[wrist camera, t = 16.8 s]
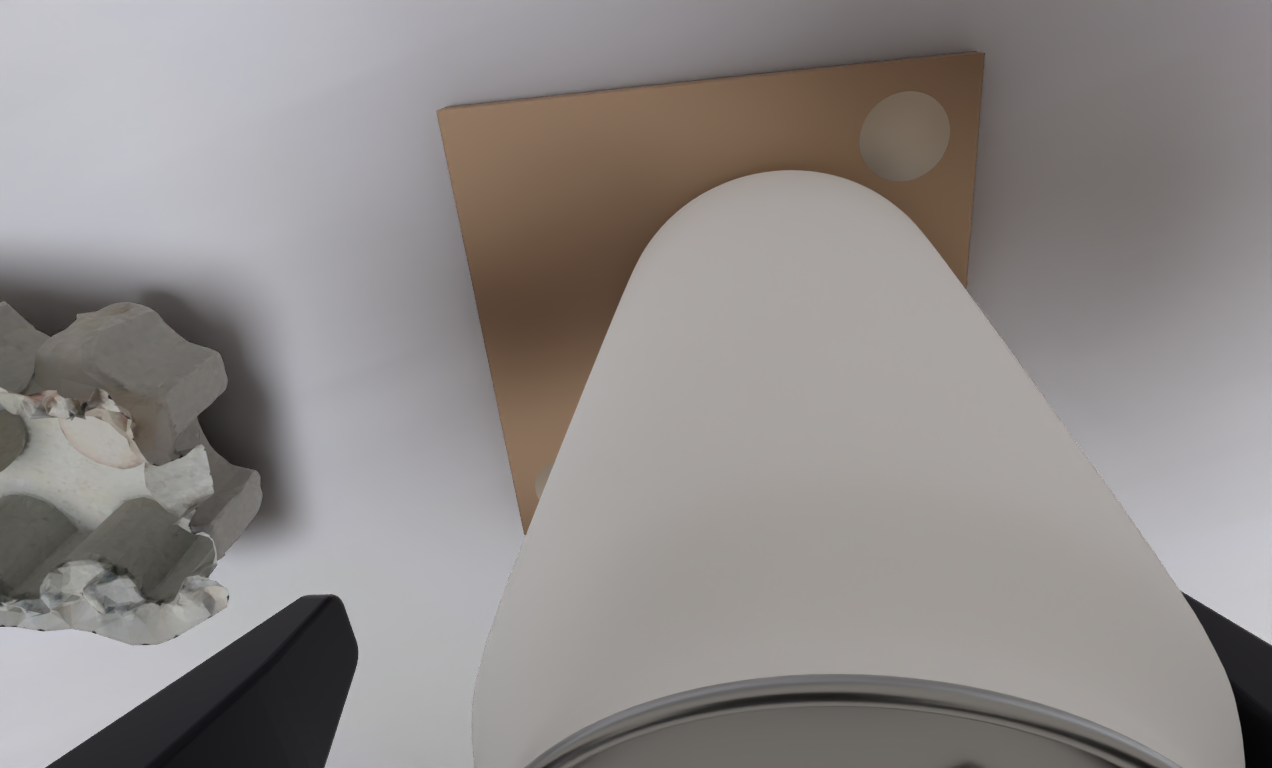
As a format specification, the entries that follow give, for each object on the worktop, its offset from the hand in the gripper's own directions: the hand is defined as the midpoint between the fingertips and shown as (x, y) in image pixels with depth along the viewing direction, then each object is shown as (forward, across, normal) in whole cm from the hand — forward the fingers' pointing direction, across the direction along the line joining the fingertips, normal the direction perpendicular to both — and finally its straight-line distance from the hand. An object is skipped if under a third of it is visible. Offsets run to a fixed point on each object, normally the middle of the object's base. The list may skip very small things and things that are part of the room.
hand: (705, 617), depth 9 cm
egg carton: (+10, +17, -1) cm, 20 cm away
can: (+8, -1, 0) cm, 9 cm away
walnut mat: (+9, 0, 0) cm, 9 cm away
